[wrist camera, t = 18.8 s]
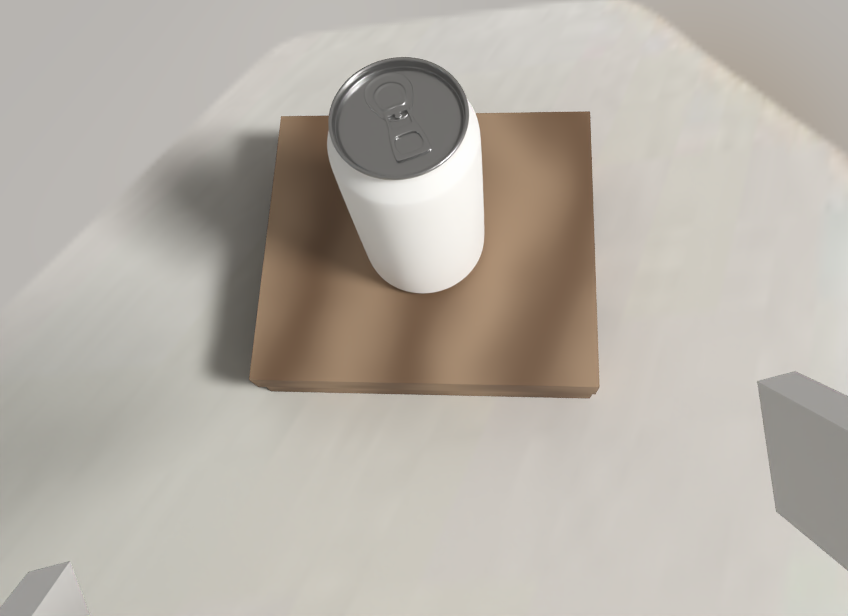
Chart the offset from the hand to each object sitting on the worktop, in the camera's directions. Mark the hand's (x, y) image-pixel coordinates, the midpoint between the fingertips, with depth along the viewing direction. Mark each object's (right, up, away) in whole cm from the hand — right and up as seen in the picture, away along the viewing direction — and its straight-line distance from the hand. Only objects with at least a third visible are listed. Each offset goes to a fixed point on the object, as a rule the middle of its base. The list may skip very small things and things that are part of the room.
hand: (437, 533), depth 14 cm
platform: (0, +7, +31) cm, 31 cm away
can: (0, +8, +27) cm, 28 cm away
